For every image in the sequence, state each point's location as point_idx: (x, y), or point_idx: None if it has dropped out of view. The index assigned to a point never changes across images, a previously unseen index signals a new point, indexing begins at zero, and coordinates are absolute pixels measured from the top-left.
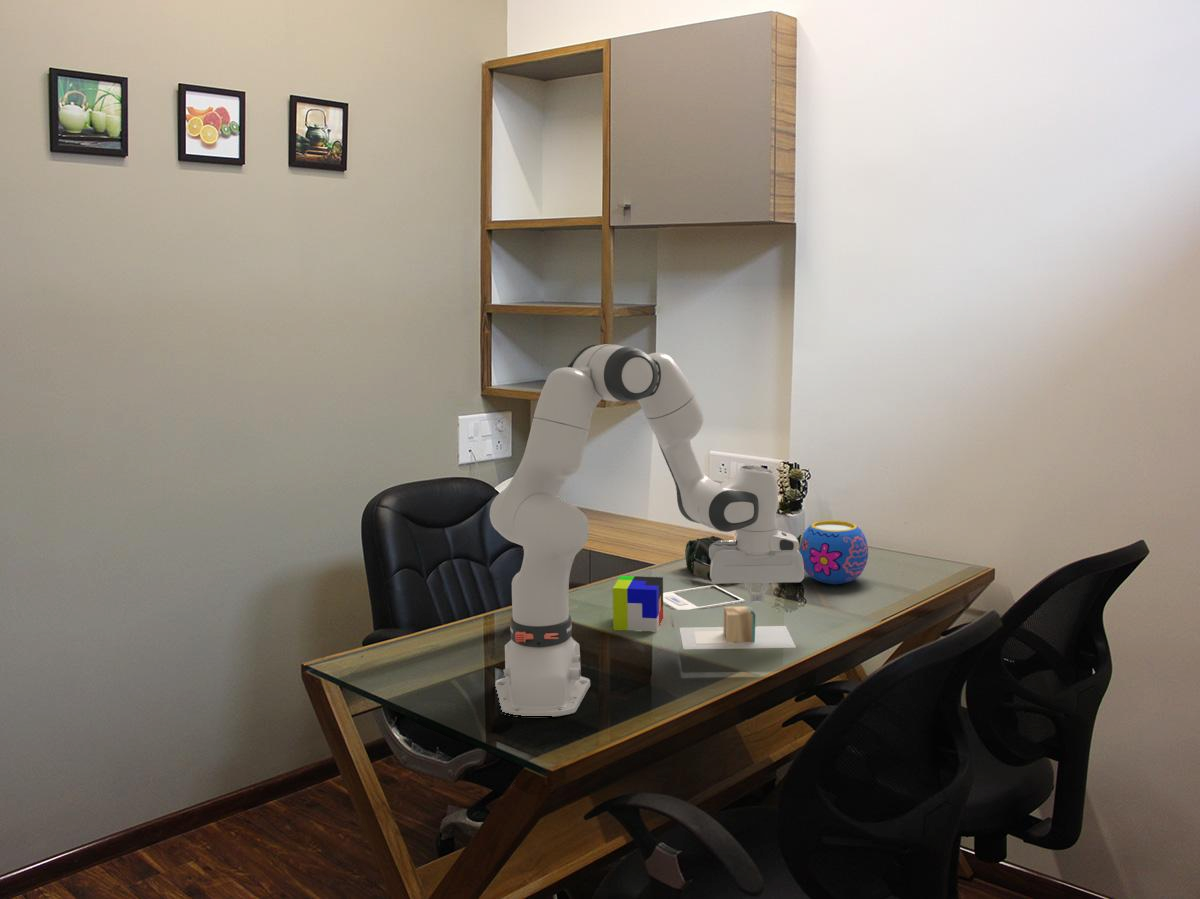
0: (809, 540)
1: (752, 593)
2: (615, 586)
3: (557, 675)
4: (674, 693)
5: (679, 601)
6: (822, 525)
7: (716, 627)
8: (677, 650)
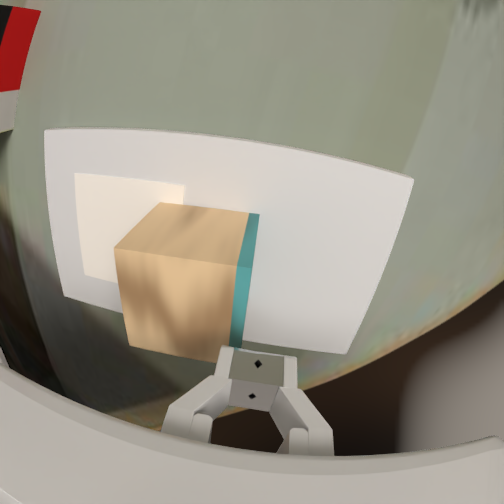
0: None
1: (220, 410)
2: None
3: None
4: (91, 405)
5: None
6: None
7: (146, 135)
8: (56, 266)
